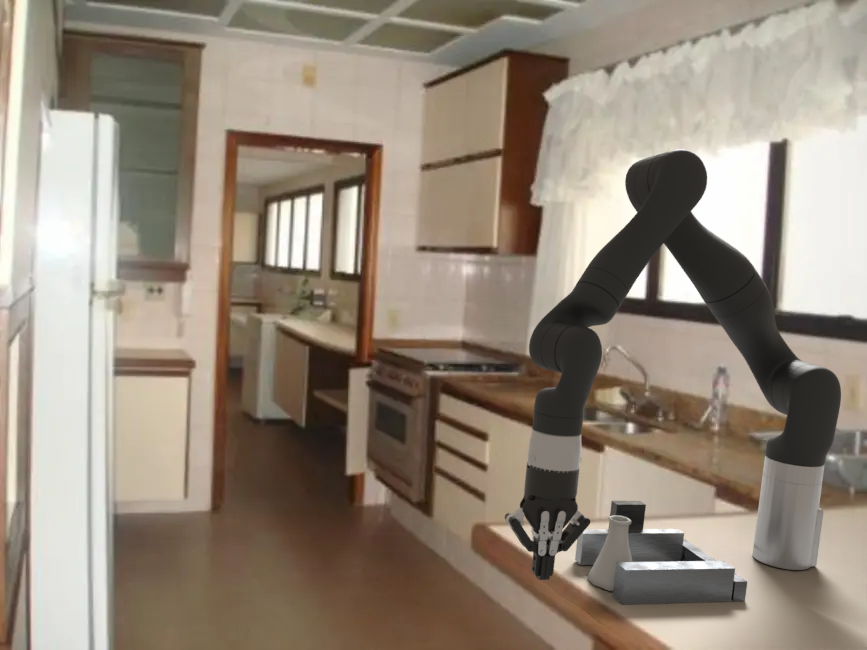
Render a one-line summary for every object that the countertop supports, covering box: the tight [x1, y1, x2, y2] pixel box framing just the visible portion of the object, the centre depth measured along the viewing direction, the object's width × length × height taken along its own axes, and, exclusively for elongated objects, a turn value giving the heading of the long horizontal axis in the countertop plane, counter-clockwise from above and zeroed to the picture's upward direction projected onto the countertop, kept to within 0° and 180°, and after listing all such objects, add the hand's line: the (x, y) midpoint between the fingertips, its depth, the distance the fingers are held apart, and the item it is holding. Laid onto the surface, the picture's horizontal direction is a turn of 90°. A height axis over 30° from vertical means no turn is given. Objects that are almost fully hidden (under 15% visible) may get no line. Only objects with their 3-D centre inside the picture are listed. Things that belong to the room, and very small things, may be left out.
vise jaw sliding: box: [574, 500, 685, 566], centre depth 151 cm, size 17×4×9 cm, turn 105°
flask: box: [586, 515, 633, 592], centre depth 141 cm, size 7×7×10 cm
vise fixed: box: [612, 538, 748, 605], centre depth 145 cm, size 20×19×5 cm
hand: (541, 577), depth 138 cm, fingers closed
